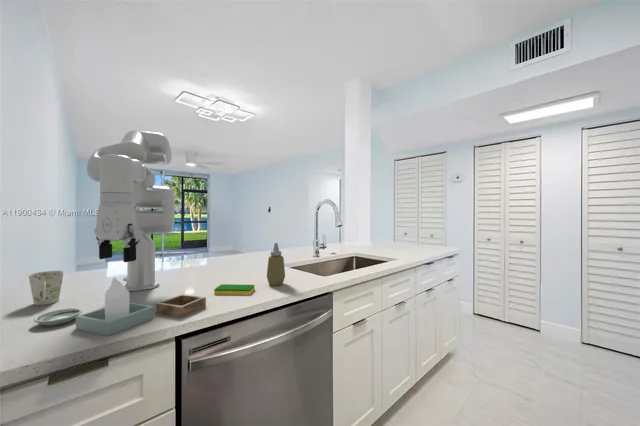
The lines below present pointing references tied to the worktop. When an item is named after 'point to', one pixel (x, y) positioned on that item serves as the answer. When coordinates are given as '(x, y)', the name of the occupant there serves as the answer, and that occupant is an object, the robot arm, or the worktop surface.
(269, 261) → the squeeze bottle
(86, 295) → the worktop surface
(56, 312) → the saucer
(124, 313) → the white tall block
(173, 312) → the shallow wooden box
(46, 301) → the mug
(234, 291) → the dish sponge
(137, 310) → the tray
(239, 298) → the worktop surface
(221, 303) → the worktop surface
